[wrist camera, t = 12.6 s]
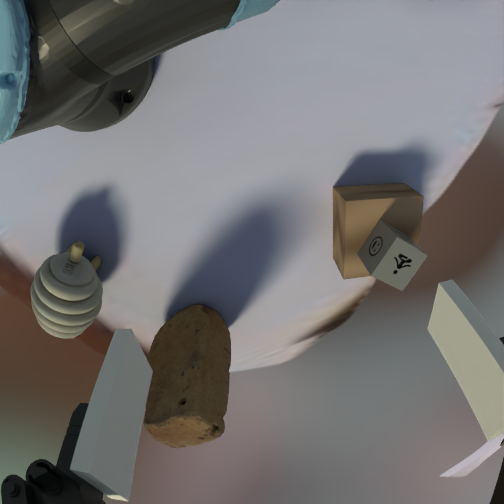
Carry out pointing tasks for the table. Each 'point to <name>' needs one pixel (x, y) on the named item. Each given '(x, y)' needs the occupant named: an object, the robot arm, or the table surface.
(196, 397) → the brown oblong lump
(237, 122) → the table surface
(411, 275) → the dice cube
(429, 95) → the table surface
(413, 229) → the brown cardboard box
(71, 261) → the cream beehive honey pot
